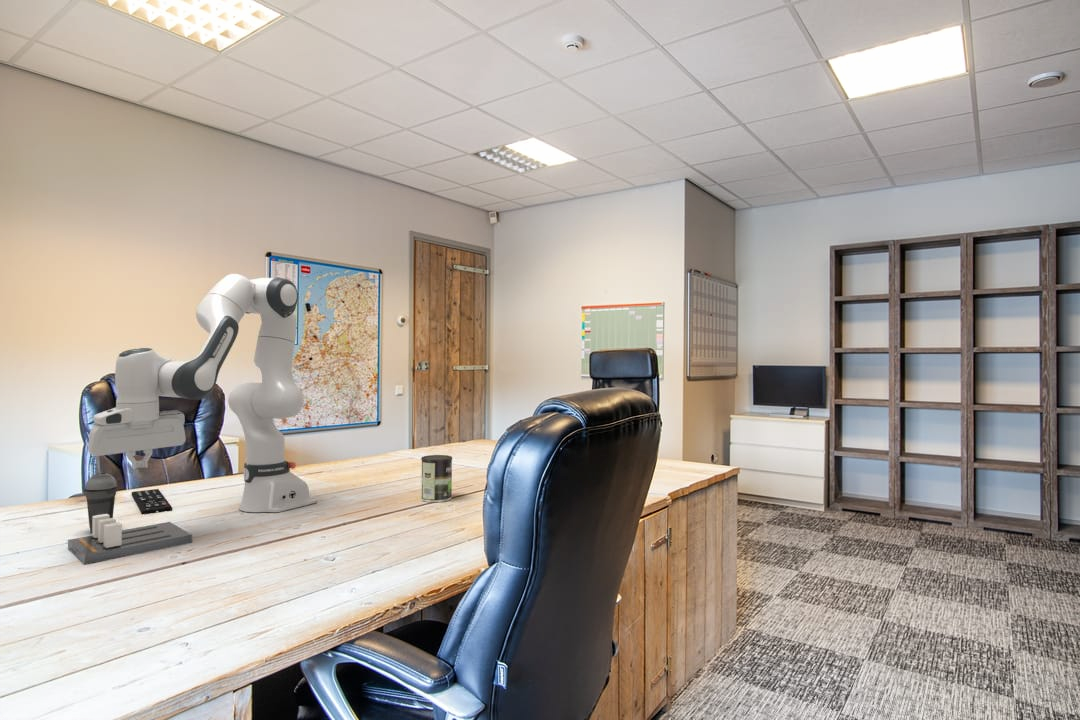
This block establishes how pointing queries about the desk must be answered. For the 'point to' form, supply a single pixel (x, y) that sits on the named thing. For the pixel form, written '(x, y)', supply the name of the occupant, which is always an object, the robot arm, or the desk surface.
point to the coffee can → (436, 478)
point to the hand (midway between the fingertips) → (140, 468)
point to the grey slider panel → (130, 542)
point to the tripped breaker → (112, 534)
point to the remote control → (151, 501)
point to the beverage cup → (100, 494)
